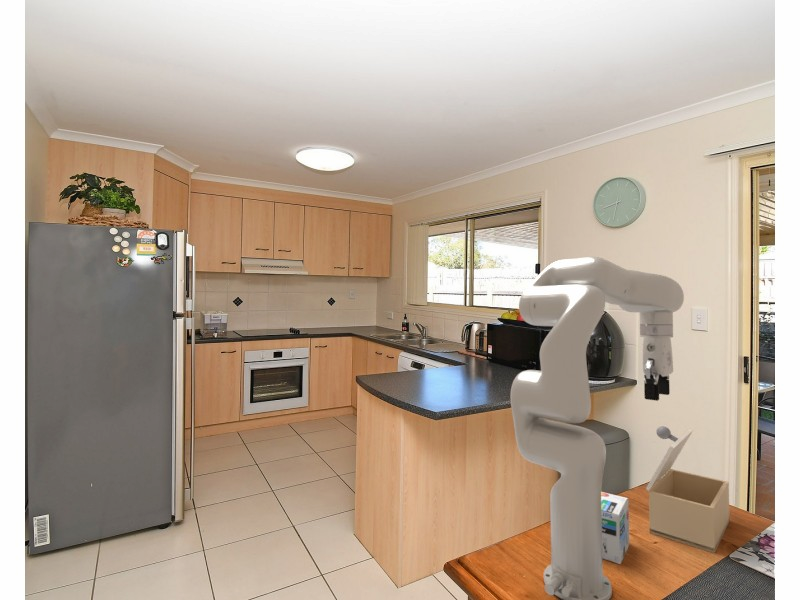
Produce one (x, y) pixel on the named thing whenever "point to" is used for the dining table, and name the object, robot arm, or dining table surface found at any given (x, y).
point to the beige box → (689, 509)
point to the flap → (668, 453)
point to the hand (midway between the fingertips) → (657, 396)
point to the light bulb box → (614, 527)
